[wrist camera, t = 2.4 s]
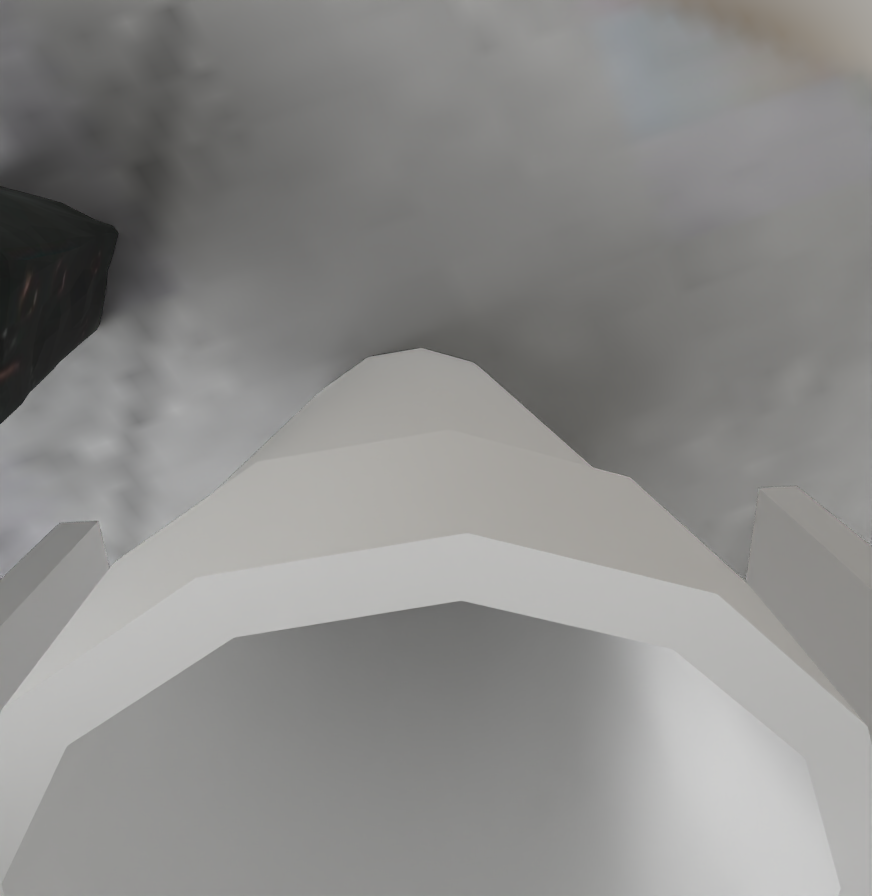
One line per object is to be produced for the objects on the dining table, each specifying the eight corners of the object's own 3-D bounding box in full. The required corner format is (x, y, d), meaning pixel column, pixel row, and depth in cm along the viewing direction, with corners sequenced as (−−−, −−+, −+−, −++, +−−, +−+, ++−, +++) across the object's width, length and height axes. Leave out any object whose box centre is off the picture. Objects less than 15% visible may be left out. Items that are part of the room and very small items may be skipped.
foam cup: (559, 611, 21) (766, 1197, 9) (250, 602, 21) (26, 1212, 8) (606, 296, 18) (1041, 554, 6) (237, 275, 17) (-168, 510, 5)
